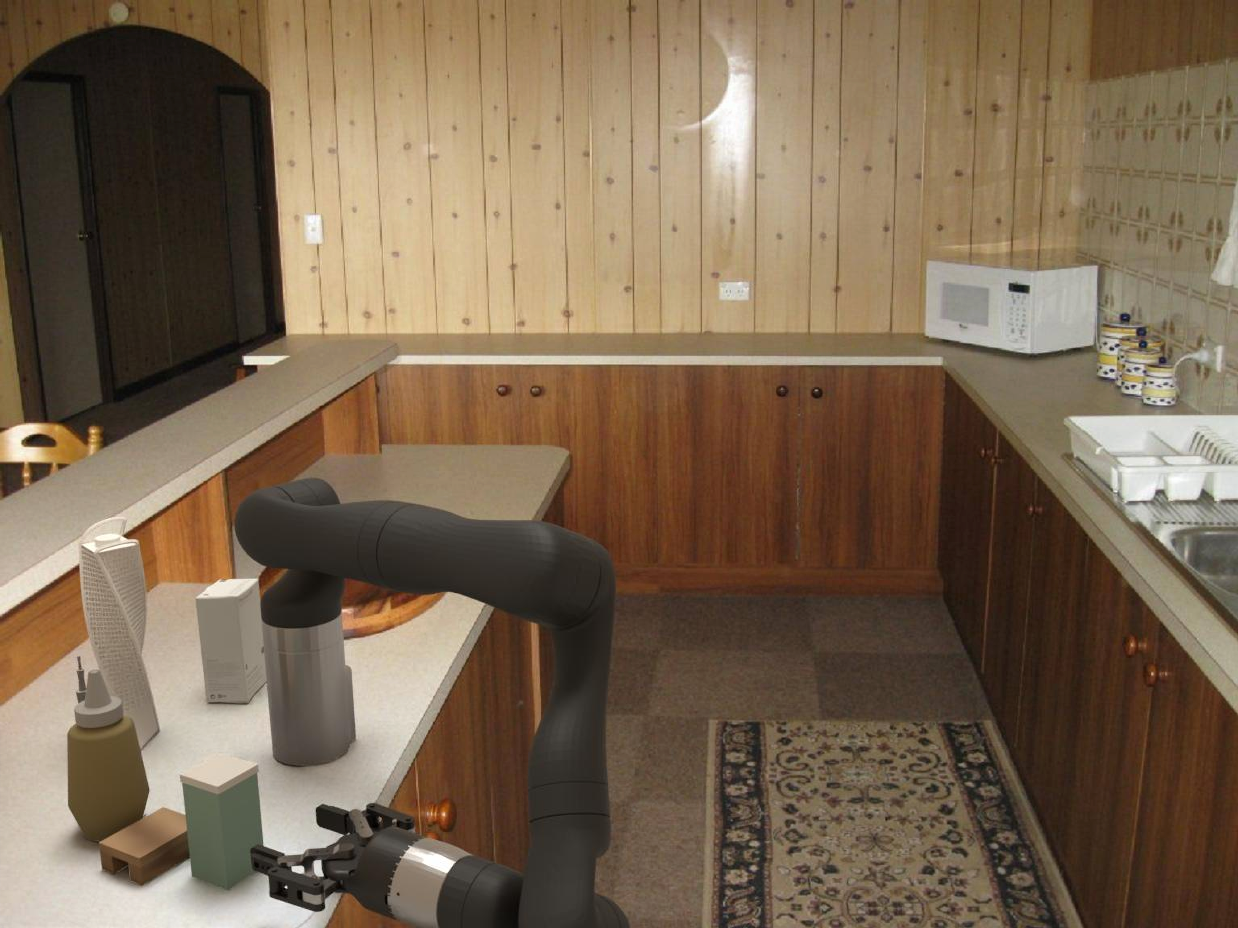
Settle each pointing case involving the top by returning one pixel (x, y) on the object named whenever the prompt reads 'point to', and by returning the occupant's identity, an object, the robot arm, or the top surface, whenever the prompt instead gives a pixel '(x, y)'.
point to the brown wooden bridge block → (147, 846)
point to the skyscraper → (117, 623)
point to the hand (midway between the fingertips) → (286, 834)
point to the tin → (222, 819)
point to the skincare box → (231, 640)
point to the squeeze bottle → (104, 765)
